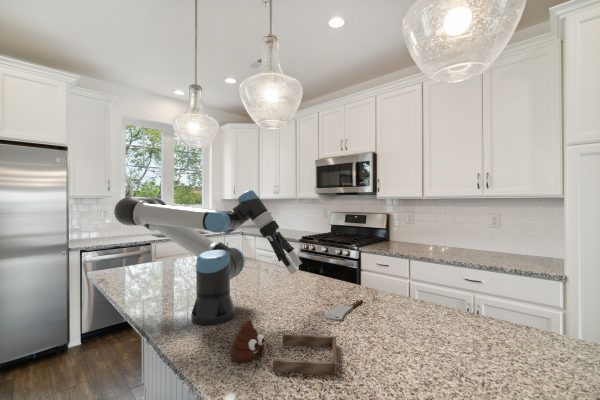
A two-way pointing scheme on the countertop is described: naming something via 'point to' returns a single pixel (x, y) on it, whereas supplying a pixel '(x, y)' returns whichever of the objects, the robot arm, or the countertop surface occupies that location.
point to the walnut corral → (308, 366)
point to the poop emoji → (246, 343)
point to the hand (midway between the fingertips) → (297, 268)
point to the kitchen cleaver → (341, 311)
